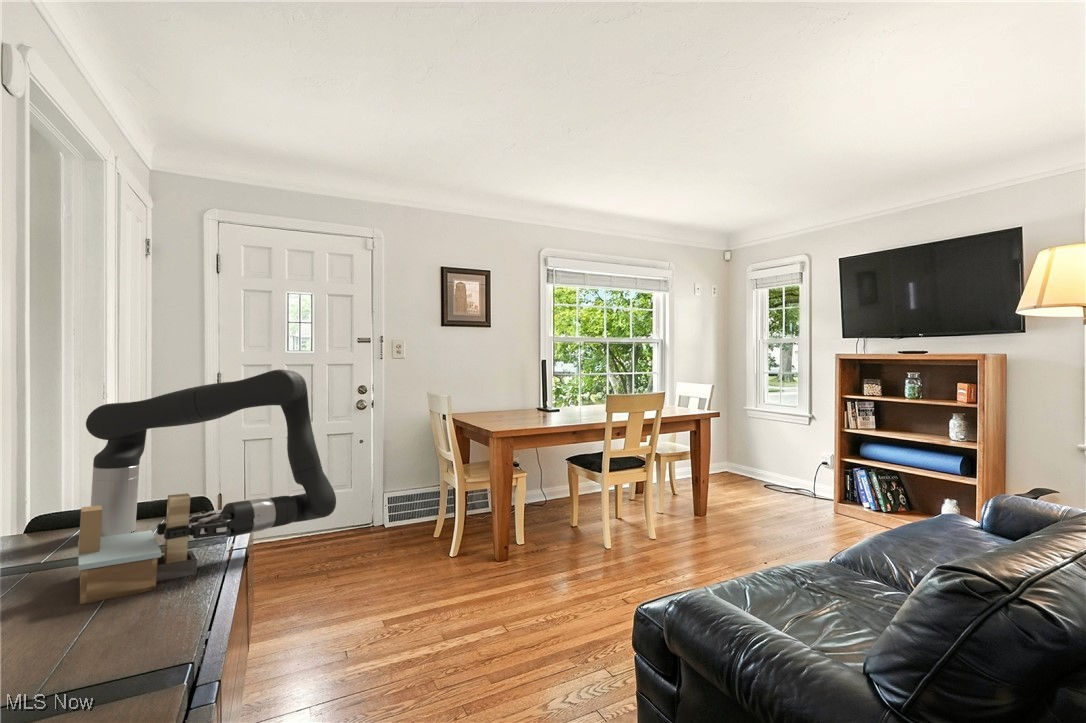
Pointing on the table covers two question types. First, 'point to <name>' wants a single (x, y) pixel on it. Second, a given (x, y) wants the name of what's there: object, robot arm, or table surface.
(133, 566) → the wooden box
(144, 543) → the lid
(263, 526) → the robot arm
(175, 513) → the wooden block
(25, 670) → the table surface
